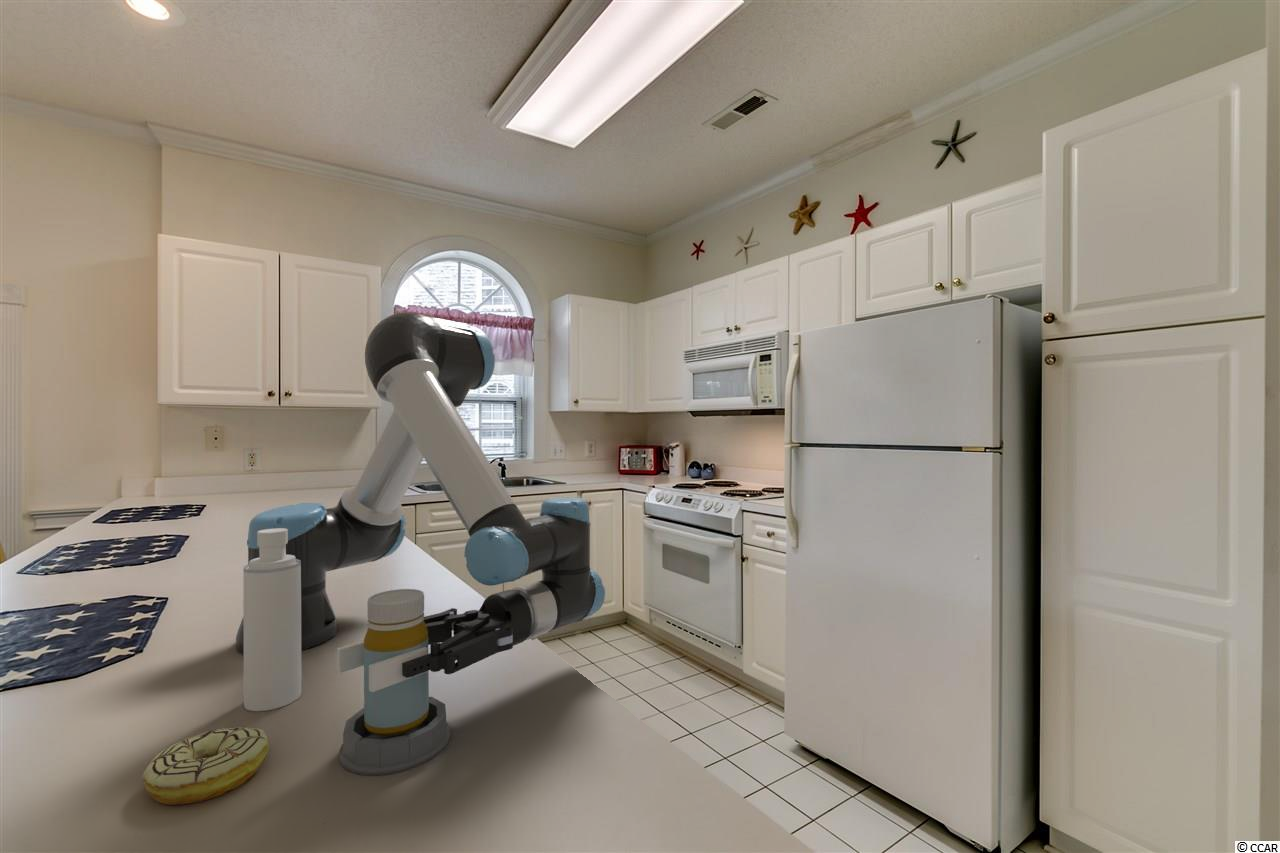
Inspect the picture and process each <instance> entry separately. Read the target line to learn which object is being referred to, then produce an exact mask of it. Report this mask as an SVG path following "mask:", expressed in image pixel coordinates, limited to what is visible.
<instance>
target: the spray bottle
mask: <svg viewBox="0 0 1280 853" xmlns="http://www.w3.org/2000/svg"><path fill="white" fill-rule="evenodd" d="M287 543H288V529H285V528H275V529H266V530H261V531H258V532H257V546H258V547H259V558H255V559H252V560H250V562H249V564H248V563H247V564H246V565H244V566H243V588H242V590H243V592H242V593H243V595H242V596H243V599H242V600H243V601H242V602H243V604H242V605H243V606H242V607H243V614H242V615H243V616H242V618H243V622H244V654H243V707H244V709H246V710H247V711H250V712H267V711H271V710H272V711H273V710H276V709H280V708H284V707H286V706H288V705H291V704H293V703H294V702H296V701H297V700H298V699H299V698H301V694H302V650H301V560H299V559H296V557H295V556H294V555H286V544H287ZM298 562H299V563H298Z"/></svg>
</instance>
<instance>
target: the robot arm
mask: <svg viewBox="0 0 1280 853" xmlns="http://www.w3.org/2000/svg"><path fill="white" fill-rule="evenodd" d="M495 356H496V355H495V353H494V347H493V344H492V342H491V340H490V338H489V337H488V335H487V334H486V333H485V332H484V331H483V330H482V329H480V328H479V327H476V326H473V325H470V324H468V323H466V322H463V321H454V320H449V319H444V318H440V317H439V318H438V317H434V316H429V315H425V314H422V313H418V312H410V311H409V312H408V311H405V312H397V313H395V314H392V315H389V316H387V317H385V318H384V319H382V320H381V321H379V322H378V323H377V324H376V325H375V326H374V328H373V329H372V331H371V332H370V334H369V335H368V336H367V341H366V343H365V348H364V364H365V368H366V371H367V375H368V378H369V380H370V383H371V384H372V386H373V388H374V390H375V391H376V393H377V395H378V397H379V398H380V399H381V400H383V401H384V402H387V403H391V405H392V407H393V408H394V409H393V411H391V412H392V413H391V415H390V416H389V418H388V421H387V423H386V425H385V427H384V429H383V430H382V433H381V435H380V437H379V439H378V441H377V443H376V445H375V447H374V449H373V451H372V453H371V454H370V455H371V456H370V457H369V460H368V461H367V464H365V465H366V466H365V467H364V469H363V472H362V473H361V475H360V477H359V480H358V482H357V483H356V485H353V486H351V487H348V488H347V489H345V490H344V491H343V493H342V495H341V497H340V499H339V501H338V502H337V505H336V506H334V507H331V508H326V506H325V505H324V504H323V503H319V502H302V503H298V504H290V505H289V504H287V505H282V506H278V507H274V508H271V509H268V510H265V511H262V512H260V513H258V514H256V515H255V516H254V517H252V519H251V520H250V522H249V526H248V532H247V533H248V535H247V540H246V546H247V554H248V555H247V556H248V557H247V561H248V562H247V565H248V564H249V562H250V560H252V559H255V558H259V547H258V546H257V532H258V531H261V530H266V529H275V528H285V529H288V543H287V544H286V555H294V556H295V557H296V559H299V560H301V651H302V650H306V649H310V648H312V647H316V646H318V645H320V644H323V643H325V642H327V641H329V640H331V639H333V638H334V636H336V635H337V632H338V627H337V626H338V624H337V623H338V622H337V621H338V620H337V617H336V614H335V611H334V609H333V606H332V604H331V601H330V599H329V596H328V593H327V590H326V588H327V586H326V584H327V583H326V579H327V578H326V577H327V576H326V574H327V572H332V571H334V570H339V569H345V568H349V567H352V566H357V565H363V564H367V563H372V562H376V561H378V560H381V559H383V558H386V557H389V556H390V555H392V554H394V552H396V551H397V550H398V549H399V548H400V546H401V544H402V542H403V540H404V538H405V533H406V528H405V527H404V526H405V525H406V518H405V515H404V508H403V506H402V503H401V502H402V500H403V499H404V496H405V494H406V493H407V491H408V489H409V487H410V484H411V483H412V481H413V479H414V477H415V475H416V474H417V472H418V470H419V468H420V466H421V464H422V463H423V460H424V461H425V462H426V464H427V466H428V467H429V469H430V471H431V472H432V474H433V476H434V478H435V479H436V481H437V483H438V485H439V486H440V488H441V489H442V491H443V493H444V494H445V497H447V500H448V501H449V502H450V504H451V506H452V508H453V509H454V511H455V513H456V515H457V517H458V519H459V520H460V521H461V523H462V526H463V527H464V529H465V530H466V531H467V533H468V536H469V538H468V540H467V541H466V544H465V546H464V547H465V548H464V558H465V560H466V563H465V566H466V569H467V571H468V573H469V574H470V576H471V577H472V578H473V579H474V580H475V581H476V582H477V583H479V584H482V585H484V586H488V587H489V586H498V585H502V584H505V583H510V582H515V581H516V580H520V579H521V578H524V577H526V576H528V575H531V574H533V573H536V572H538V571H541V574H542V575H541V577H542V580H538V581H533V582H530V583H527V584H522V585H520V586H515V587H514V588H512V589H506V590H504V591H500V592H497V593H492V594H490V595H488V596H487V597H486V598H485V599H484V600H483V603H482V605H481V606H480V608H479V609H472V610H466V611H465V612H463V613H458V608H453V607H452V608H449V609H447V610H445V611H442V612H438V613H435V614H429V615H426V616H425V615H424V622H425V625H426V627H427V630H428V646H429V645H430V648H429V647H428V648H426V647H422V648H419V649H416V650H414V651H411V652H407V653H404V654H401V655H398V656H395V657H392V658H389V659H386V660H383V661H380V662H377V663H374V664H371V665H369V691H371V692H375V691H377V690H380V689H383V688H385V687H388V686H391V685H393V684H396V683H399V682H402V681H404V680H407V679H410V678H412V677H415V676H418V675H420V674H423V673H426V672H428V671H430V672H432V673H437V672H440V671H441V670H443V672H444V674H446V675H452V674H454V673H456V672H458V671H461V670H463V669H465V668H467V667H469V666H472V665H474V664H476V663H478V662H480V661H483V660H484V659H487V658H489V657H492V656H494V655H496V654H498V653H501V652H506V651H509V650H512V649H514V648H513V647H514V646H516V645H518V644H521V643H522V644H523V643H524V642H525V641H528V640H531V641H533V640H536V639H537V637H539V636H541V635H544V634H546V633H549V632H552V631H555V630H557V629H560V628H562V627H566V626H568V625H571V624H574V623H579V622H582V621H583V620H585V619H587V618H589V617H591V616H592V615H595V614H596V613H597V612H599V611H600V609H601V608H602V607H603V605H604V602H605V599H606V590H605V589H606V588H605V586H604V585H603V580H602V577H601V576H600V575H599V574H598V573H597V572H596V571H595V570H593V569H591V567H590V566H591V561H590V560H591V522H590V521H591V520H590V508H589V503H588V501H586V500H585V499H583V498H579V497H554V498H548V499H545V500H544V501H543V502H542V503H541V507H540V512H539V516H536V517H531V518H527V519H526V518H525V516H524V515H523V513H522V512H521V510H520V509H519V508H518V506H517V504H516V502H515V501H514V499H513V498H512V497H511V495H510V493H509V491H508V490H507V488H506V486H505V485H504V483H503V481H502V480H501V479H500V477H499V475H498V474H497V473H496V470H495V469H494V467H493V466H492V464H491V463H490V461H489V459H488V458H487V457H486V454H485V453H484V452H483V450H482V448H481V447H480V444H478V442H477V440H476V439H475V437H474V435H473V433H472V432H471V430H470V428H468V426H467V424H466V422H465V421H464V419H463V418H462V415H460V413H459V411H458V410H457V408H459V407H461V406H462V404H463V403H464V401H465V399H466V397H467V396H468V393H469V392H470V390H478V389H480V388H483V387H484V386H485V385H487V384H488V382H489V381H490V380H491V378H492V376H493V374H494V370H495V366H496V365H495V364H496V357H495ZM298 563H299V562H298ZM235 637H236V638H235V640H236V641H235V643H236V644H235V646H236V647H235V648H236V651H237V652H238V653H240V654H243V655H244V622H243V617H242V619H241V621H240V625H239V627H238V630H237V633H236V635H235ZM429 650H430V652H429ZM360 667H364V639H363V640H360V641H357V642H353V643H350V644H347V645H343V646H340V647H337V648H336V672H337V673H339V674H342V673H344V672H348V671H350V670H354V669H357V668H360Z"/></svg>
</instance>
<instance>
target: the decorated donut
mask: <svg viewBox="0 0 1280 853" xmlns="http://www.w3.org/2000/svg"><path fill="white" fill-rule="evenodd" d="M269 747H270V744H269V742H268V736H267V735H266V733H265V730H264V729H260V728H256V727H255V728H253V727H247V726H246V727H244V726H238V727H226V728H219V729H218V728H217V729H212V730H209V731H206V732H203V733H200V734H197V735H193V736H191V737H187V738H185V739H182V740H181V741H178V742H176V743H174V744H172V745H170V746H168V747H166V748H164V749H162V750H161V751H160V752H158V753H157V754H156V755H155V757H153V759H152V760H151V761H150V762H149V764H148V765H147V767H146V768H145V770H144V772H143V773H142V777H143V783H144V787H145V789H146V791H147V793H148V794H149V796H151V797H152V798H153V799H154V801H156V802H158V803H161V804H165V805H171V806H175V805H185V804H190V803H191V804H194V803H200V802H203V801H206V800H210V799H214V798H217V797H219V796H222V795H224V794H227V793H226V792H228V791H229V792H230V791H231V790H234V789H236V788H238V787H240V786H241V785H243V784H244V783H246V782H247V780H248V779H250V778H251V777H252V776H253V775H254V774H255V773H257V772H258V770H259V769H260V768H261V766H262V765H263V763H264V760H265V757H266V755H267V753H268V752H269ZM199 801H200V802H199Z"/></svg>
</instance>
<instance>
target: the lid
mask: <svg viewBox="0 0 1280 853" xmlns="http://www.w3.org/2000/svg"><path fill="white" fill-rule="evenodd" d="M446 709H447V708H446V703H444V702H443V701H441V700H439V699H437V698H435V697H433V696H429V713H428V715H427V717H426V719H425V720H424V721H423V723H422V724H421V725H419V726H418V727H417V728H415V729H413V730H412V731H410V732H407V733H404V734H401V735H396V736H387V737H383V736H377V735H374V734H372V733H371V732H370V731H369V730H367V729H366V727H365V721H364V707H363V708H361V709H360V710H358V711H357V712H356V713H355V714H353V715H352V716H351V717H350V718H348V719H347V720H346V721H345V724H344V729H343V732H342V739H343V740H342V744H341V746H340V749H339V763H340V764H341V766H342V767H343V768H344V769H345V770H347V771H349V772H350V773H353V774H357V775H362V776H382V775H383V776H384V775H391V774H392V775H393V774H396V773H400V772H404V771H407V770H410V769H413V768H416V767H418V766H421V765H423V764H425V763H427V762H428V761H430V760H431V759H434V758H435V757H436V756H438V755H439V754H440V753H441V752H442V751H443V750H444V749H445V748H446V747H447V745H448V744H449V742H450V738H451V729H450V728H451V727H450V725H449V723H448V722H447V710H446Z"/></svg>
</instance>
